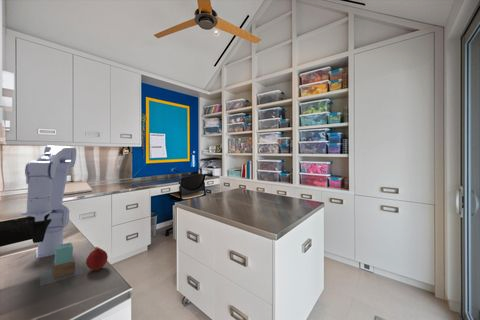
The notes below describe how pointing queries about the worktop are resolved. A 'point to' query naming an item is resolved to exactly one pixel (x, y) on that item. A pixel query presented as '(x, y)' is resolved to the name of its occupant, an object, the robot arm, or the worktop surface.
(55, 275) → the walnut block
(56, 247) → the teal block
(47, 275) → the mat
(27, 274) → the worktop surface
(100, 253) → the red round piece
